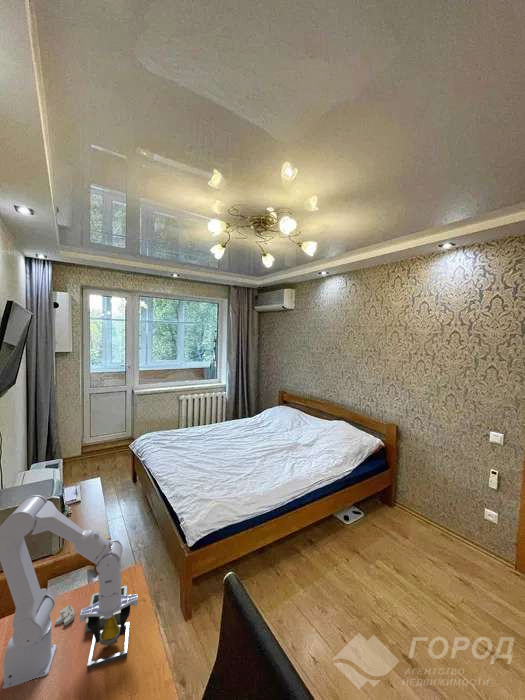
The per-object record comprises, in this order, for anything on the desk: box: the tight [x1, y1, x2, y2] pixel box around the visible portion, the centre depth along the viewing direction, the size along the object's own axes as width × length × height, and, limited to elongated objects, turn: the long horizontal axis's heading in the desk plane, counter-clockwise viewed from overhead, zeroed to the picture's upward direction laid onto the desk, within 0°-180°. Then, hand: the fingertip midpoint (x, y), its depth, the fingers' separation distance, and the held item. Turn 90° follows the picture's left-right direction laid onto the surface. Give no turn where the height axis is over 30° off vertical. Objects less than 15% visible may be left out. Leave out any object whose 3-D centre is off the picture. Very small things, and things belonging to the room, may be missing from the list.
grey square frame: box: [86, 621, 130, 671], centre depth 83 cm, size 10×10×2 cm
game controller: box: [55, 603, 90, 626], centre depth 94 cm, size 6×12×3 cm, turn 155°
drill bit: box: [99, 615, 121, 648], centre depth 83 cm, size 5×5×10 cm
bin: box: [84, 584, 128, 634], centre depth 93 cm, size 11×11×4 cm
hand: (109, 635), depth 83 cm, fingers closed on drill bit, 5 cm apart
